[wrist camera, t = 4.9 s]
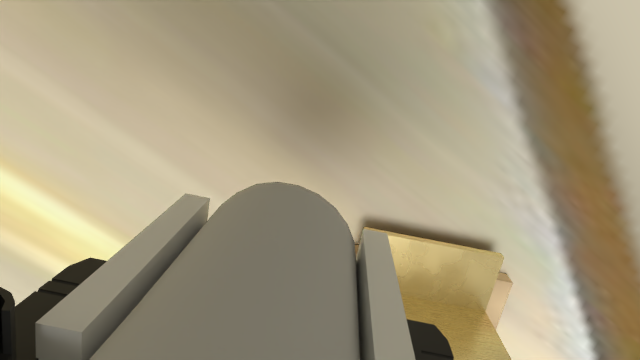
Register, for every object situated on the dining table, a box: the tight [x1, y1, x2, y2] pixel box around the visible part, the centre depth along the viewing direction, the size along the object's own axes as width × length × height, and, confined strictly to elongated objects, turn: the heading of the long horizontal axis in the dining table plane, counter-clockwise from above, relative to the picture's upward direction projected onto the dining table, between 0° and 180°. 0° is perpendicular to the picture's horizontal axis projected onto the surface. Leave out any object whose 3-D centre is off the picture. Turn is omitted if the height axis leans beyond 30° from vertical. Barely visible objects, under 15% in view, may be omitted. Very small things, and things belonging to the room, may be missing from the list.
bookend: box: [364, 227, 511, 360], centre depth 24 cm, size 5×9×9 cm, turn 80°
